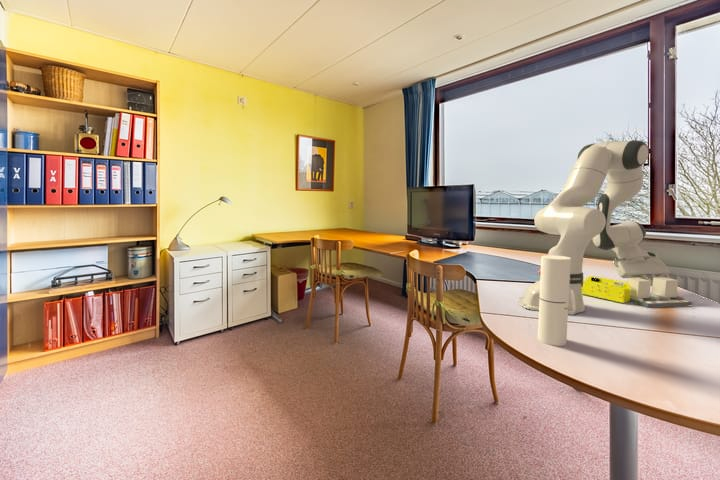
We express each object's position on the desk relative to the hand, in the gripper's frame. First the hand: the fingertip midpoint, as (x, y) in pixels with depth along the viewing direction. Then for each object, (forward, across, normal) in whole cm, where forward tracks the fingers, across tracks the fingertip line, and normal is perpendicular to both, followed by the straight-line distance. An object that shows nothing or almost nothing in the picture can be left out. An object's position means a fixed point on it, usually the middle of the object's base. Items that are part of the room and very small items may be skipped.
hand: (653, 285), depth 126 cm
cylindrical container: (+28, -68, -20) cm, 77 cm away
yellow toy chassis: (+3, -20, +5) cm, 21 cm away
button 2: (+5, 0, -1) cm, 5 cm away
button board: (+7, -5, 0) cm, 9 cm away
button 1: (+5, -11, 0) cm, 12 cm away
